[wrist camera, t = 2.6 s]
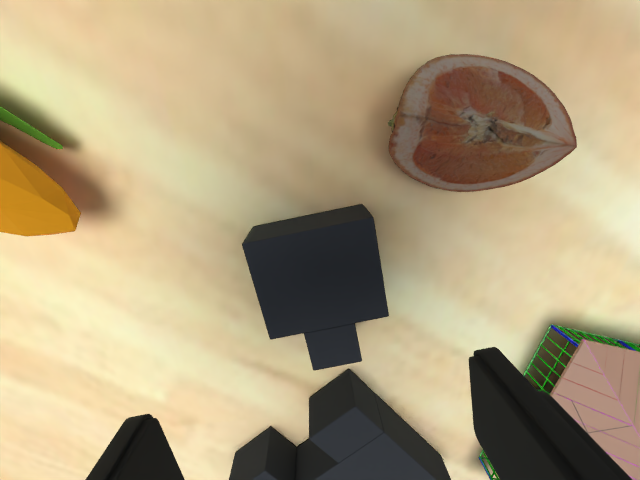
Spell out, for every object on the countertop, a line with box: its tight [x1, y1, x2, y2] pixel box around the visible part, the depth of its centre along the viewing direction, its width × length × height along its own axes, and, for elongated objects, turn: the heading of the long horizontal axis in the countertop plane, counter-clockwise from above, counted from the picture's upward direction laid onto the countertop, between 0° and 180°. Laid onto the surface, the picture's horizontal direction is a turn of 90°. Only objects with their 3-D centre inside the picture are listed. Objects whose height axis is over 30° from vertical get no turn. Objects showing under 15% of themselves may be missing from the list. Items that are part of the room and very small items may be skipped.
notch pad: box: [229, 369, 451, 480], centre depth 24 cm, size 12×12×4 cm
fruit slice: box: [388, 54, 577, 192], centre depth 16 cm, size 8×7×5 cm
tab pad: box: [242, 204, 389, 370], centre depth 19 cm, size 7×9×4 cm
